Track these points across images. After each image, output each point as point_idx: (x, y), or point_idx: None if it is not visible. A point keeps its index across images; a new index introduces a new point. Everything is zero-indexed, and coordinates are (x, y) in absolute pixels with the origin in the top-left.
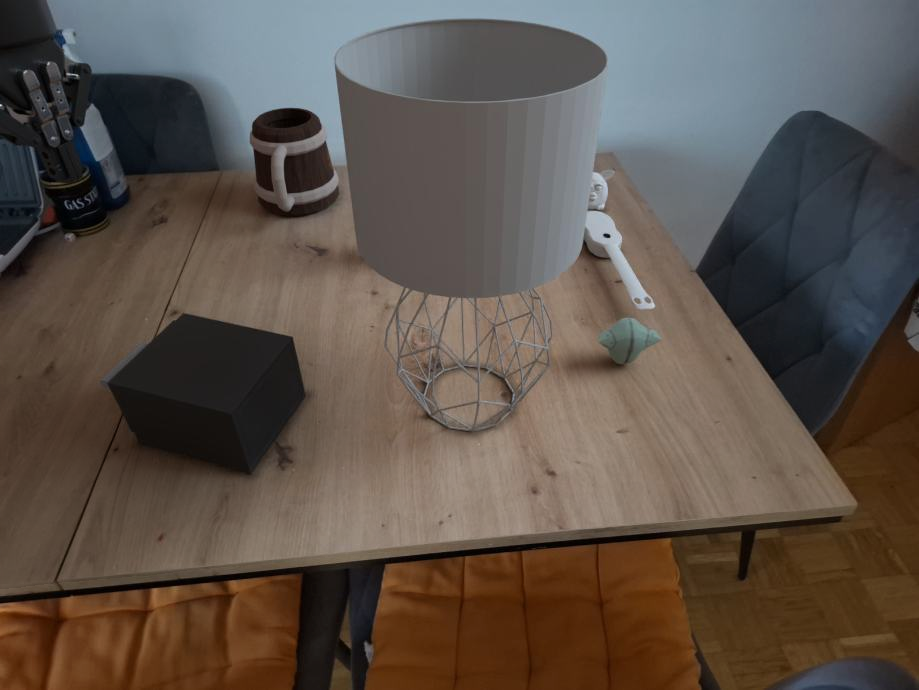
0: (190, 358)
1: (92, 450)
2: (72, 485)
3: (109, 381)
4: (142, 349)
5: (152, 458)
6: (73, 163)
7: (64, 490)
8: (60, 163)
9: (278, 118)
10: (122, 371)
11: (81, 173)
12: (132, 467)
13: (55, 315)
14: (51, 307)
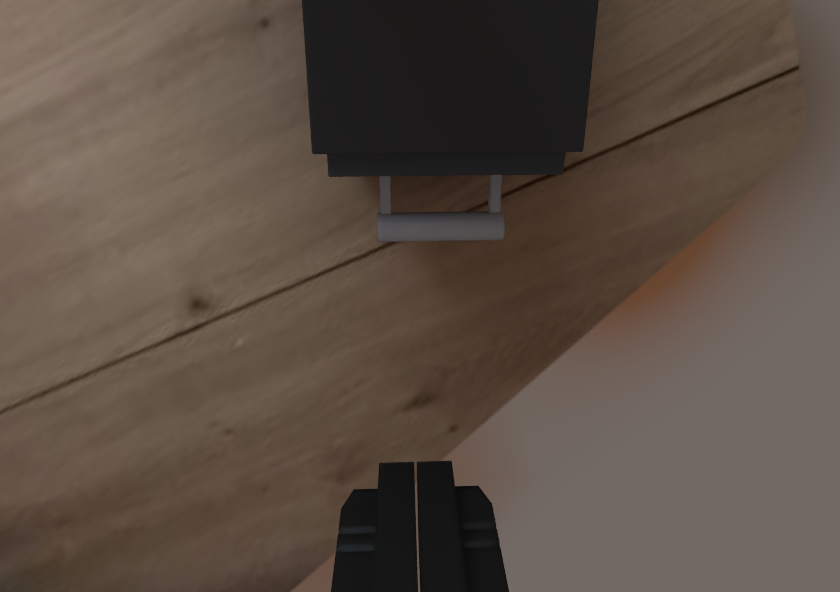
0: (461, 15)
1: (568, 197)
2: (641, 174)
3: (558, 171)
4: (446, 174)
5: None
6: (405, 515)
7: (652, 179)
8: (465, 547)
9: None
10: (543, 149)
11: (385, 470)
12: None
13: (300, 492)
14: (285, 513)
